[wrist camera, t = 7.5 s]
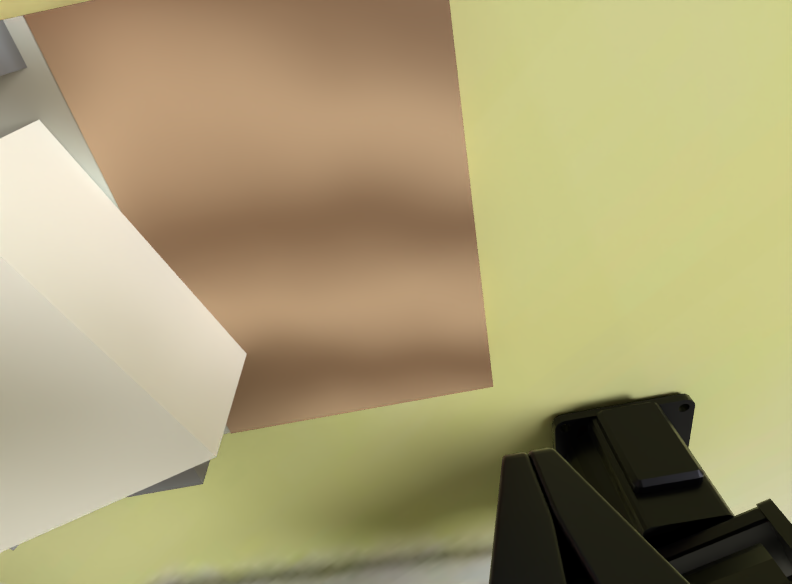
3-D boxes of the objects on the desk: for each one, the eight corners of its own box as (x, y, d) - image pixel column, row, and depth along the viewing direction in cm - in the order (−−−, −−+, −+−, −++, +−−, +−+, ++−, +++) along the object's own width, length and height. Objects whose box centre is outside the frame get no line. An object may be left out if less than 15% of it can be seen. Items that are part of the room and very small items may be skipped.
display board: (485, 363, 23) (517, 462, 19) (8, 449, 24) (-75, 564, 20) (433, -73, 15) (467, -90, 10) (-295, 86, 16) (-565, 137, 11)
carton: (247, 354, 20) (217, 458, 16) (69, 440, 22) (0, 553, 18) (37, 118, 15) (-86, 176, 11) (-169, 253, 17) (-341, 348, 13)
